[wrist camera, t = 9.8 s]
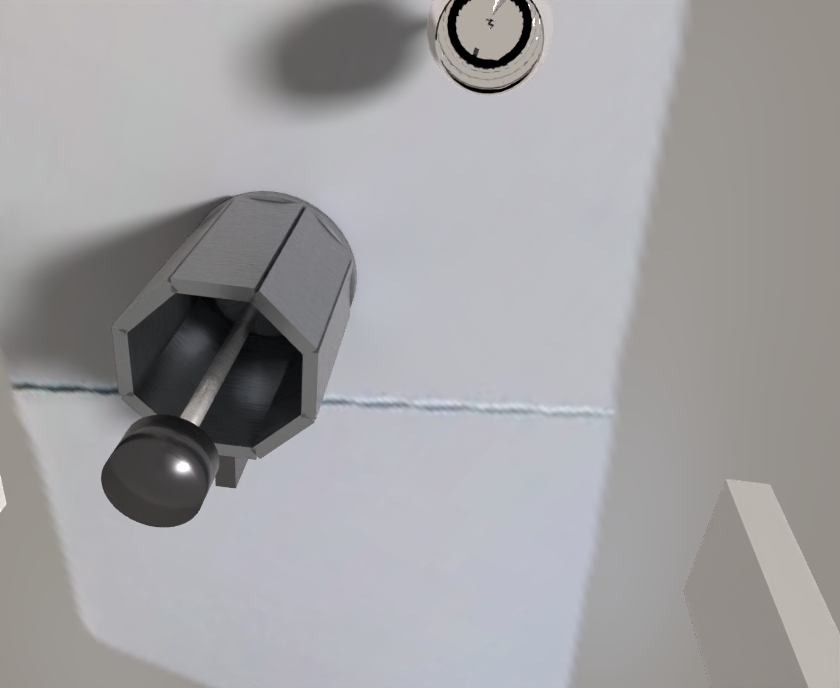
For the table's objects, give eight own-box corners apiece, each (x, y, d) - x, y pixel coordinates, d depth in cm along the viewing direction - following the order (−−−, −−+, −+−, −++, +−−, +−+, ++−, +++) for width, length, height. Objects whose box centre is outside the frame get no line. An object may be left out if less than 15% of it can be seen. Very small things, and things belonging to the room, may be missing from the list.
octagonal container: (187, 181, 50) (100, 265, 39) (361, 202, 50) (324, 293, 39) (197, 369, 58) (126, 486, 46) (349, 388, 57) (315, 510, 46)
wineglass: (530, -69, 42) (543, -54, 32) (551, 42, 45) (569, 89, 34) (425, -37, 43) (405, -13, 33) (452, 69, 46) (441, 123, 35)
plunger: (211, 223, 50) (58, 409, 32) (324, 237, 50) (233, 431, 32) (215, 323, 54) (79, 539, 36) (320, 336, 54) (236, 559, 36)
